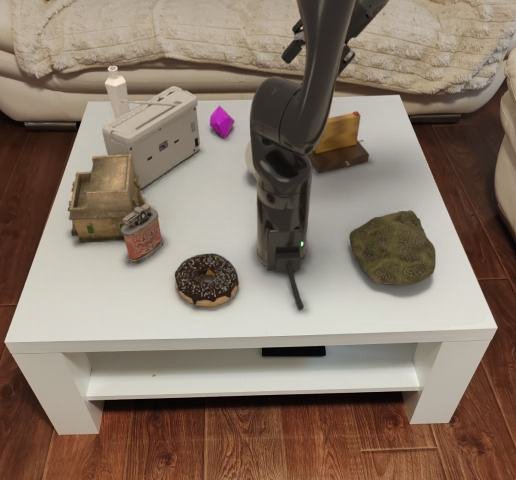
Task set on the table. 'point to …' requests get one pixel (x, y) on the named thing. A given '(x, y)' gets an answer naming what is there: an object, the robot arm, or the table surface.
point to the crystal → (221, 121)
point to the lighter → (142, 233)
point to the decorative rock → (394, 249)
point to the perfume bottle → (117, 92)
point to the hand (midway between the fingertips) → (293, 75)
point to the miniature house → (104, 198)
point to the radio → (156, 133)
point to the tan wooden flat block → (340, 132)
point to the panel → (339, 158)
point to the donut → (206, 290)
